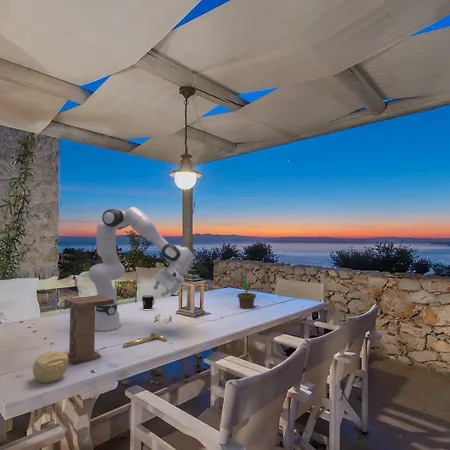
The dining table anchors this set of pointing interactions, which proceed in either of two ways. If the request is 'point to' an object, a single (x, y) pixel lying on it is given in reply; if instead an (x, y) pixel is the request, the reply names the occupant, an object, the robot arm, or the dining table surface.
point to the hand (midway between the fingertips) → (158, 292)
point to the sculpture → (50, 366)
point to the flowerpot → (246, 297)
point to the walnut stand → (83, 327)
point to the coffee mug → (147, 301)
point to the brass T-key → (145, 340)
